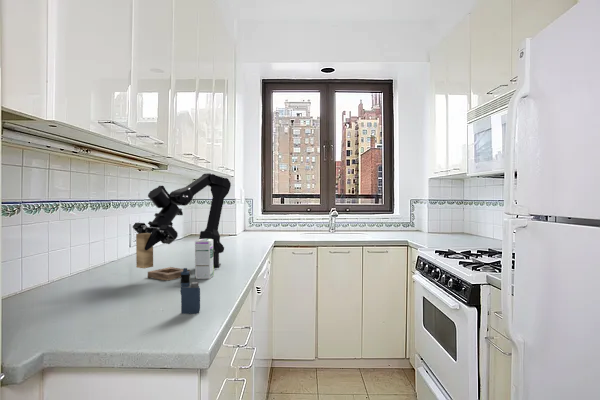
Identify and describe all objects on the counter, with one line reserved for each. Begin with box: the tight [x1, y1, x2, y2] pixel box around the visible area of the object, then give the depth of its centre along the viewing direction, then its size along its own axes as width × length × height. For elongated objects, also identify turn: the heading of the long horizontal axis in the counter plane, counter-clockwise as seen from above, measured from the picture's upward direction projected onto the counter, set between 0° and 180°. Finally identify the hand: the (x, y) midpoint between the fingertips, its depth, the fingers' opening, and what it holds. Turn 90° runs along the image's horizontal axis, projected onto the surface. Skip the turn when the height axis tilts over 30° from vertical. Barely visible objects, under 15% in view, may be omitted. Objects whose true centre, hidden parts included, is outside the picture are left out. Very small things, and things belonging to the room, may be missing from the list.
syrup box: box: [194, 238, 215, 280], centre depth 152 cm, size 6×6×14 cm
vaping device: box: [179, 267, 201, 315], centre depth 108 cm, size 3×5×12 cm, turn 88°
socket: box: [147, 266, 191, 281], centre depth 154 cm, size 11×11×2 cm
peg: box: [135, 233, 154, 269], centre depth 144 cm, size 4×4×12 cm
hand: (141, 249), depth 142 cm, fingers closed on peg, 4 cm apart
